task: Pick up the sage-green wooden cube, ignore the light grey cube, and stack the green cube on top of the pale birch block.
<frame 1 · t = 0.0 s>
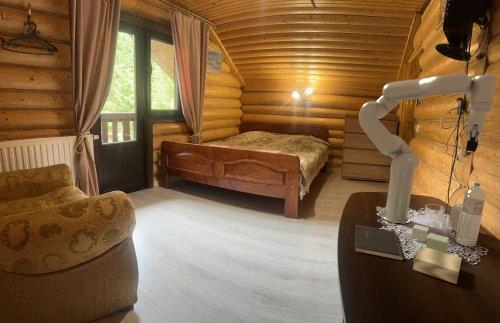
hand: (471, 150, 124), 37 cm above the table, tool pointing down, fingers open, 9 cm apart
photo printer: (459, 230, 136), on the table
water bottle: (465, 244, 122), on the table
hardcover book: (376, 244, 119), on the table
birch block: (436, 269, 101), on the table
sage cube: (435, 252, 113), on the table
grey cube: (419, 239, 124), on the table
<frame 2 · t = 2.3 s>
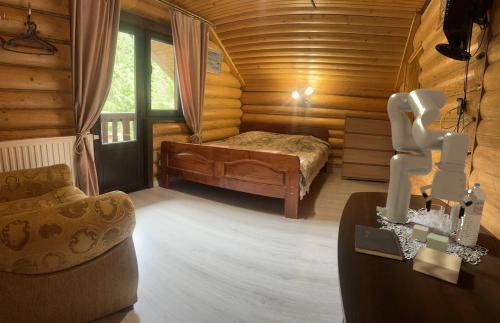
hand: (443, 214, 109), 15 cm above the table, tool pointing down, fingers open, 9 cm apart
nothing on the table moved.
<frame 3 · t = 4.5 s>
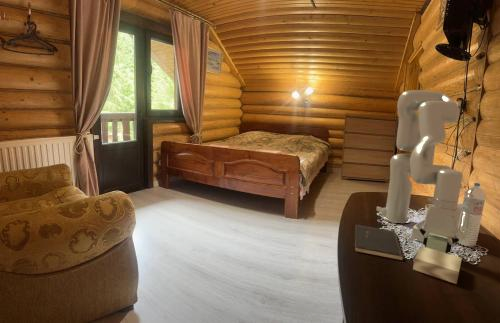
hand: (436, 249, 113), 1 cm above the table, tool pointing down, fingers closed on sage cube, 6 cm apart
sage cube: (435, 252, 113), on the table, touching gripper
everything else where it was.
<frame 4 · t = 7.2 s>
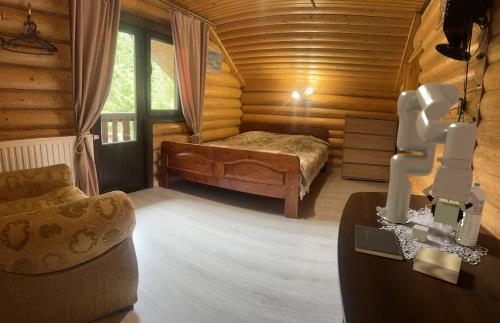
hand: (446, 218, 98), 18 cm above the table, tool pointing down, fingers closed on sage cube, 6 cm apart
sage cube: (445, 221, 98), point 17 cm above the table, touching gripper
everything else where it was.
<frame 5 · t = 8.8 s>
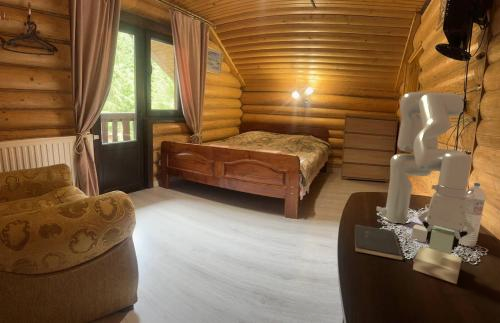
hand: (441, 244, 99), 9 cm above the table, tool pointing down, fingers closed on sage cube, 6 cm apart
sage cube: (440, 248, 99), point 8 cm above the table, touching gripper
everything else where it was.
when the fingers open (6 cm above the table, at t = 10.2 s): sage cube stays where it is, resting on birch block.
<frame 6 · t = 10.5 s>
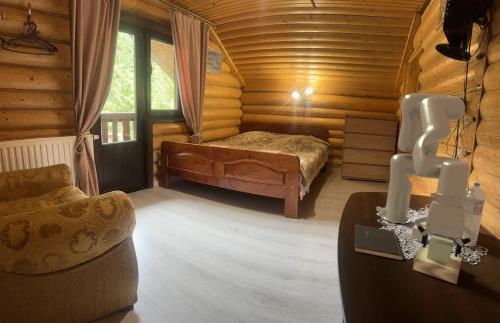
hand: (439, 250, 99), 7 cm above the table, tool pointing down, fingers open, 8 cm apart
sage cube: (438, 257, 100), point 4 cm above the table, touching birch block
everything else where it was.
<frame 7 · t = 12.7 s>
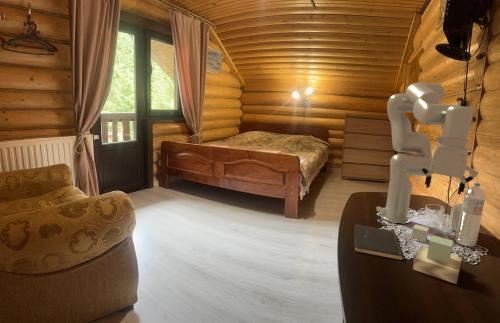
hand: (443, 190, 108), 24 cm above the table, tool pointing down, fingers open, 9 cm apart
nothing on the table moved.
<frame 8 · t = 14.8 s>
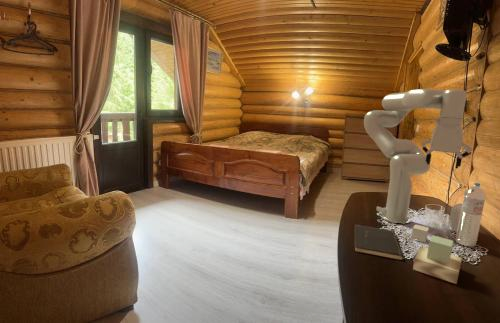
hand: (442, 166, 120), 30 cm above the table, tool pointing down, fingers open, 9 cm apart
nothing on the table moved.
at the end: sage cube inside the target area on the birch block (0.1 cm from its centre), point 4.0 cm above the birch block's base; sage cube tilted 0°; the gripper is holding nothing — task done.
